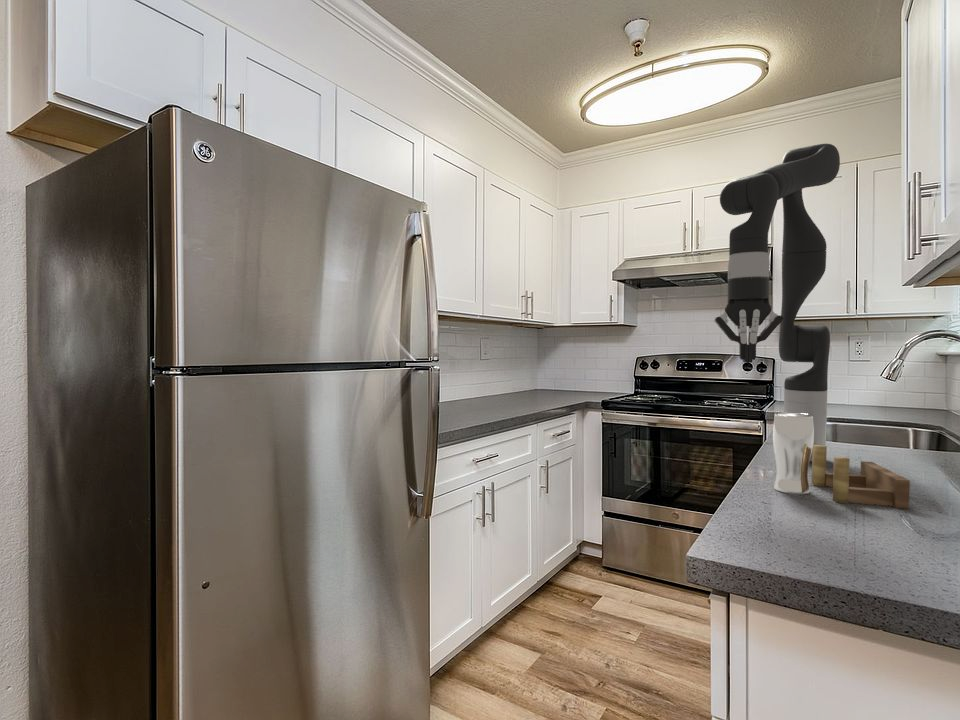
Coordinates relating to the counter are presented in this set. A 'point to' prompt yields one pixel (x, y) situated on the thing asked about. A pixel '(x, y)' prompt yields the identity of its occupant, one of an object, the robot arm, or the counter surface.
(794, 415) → the silver metal cup
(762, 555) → the counter surface
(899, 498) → the holder
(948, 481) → the counter surface
